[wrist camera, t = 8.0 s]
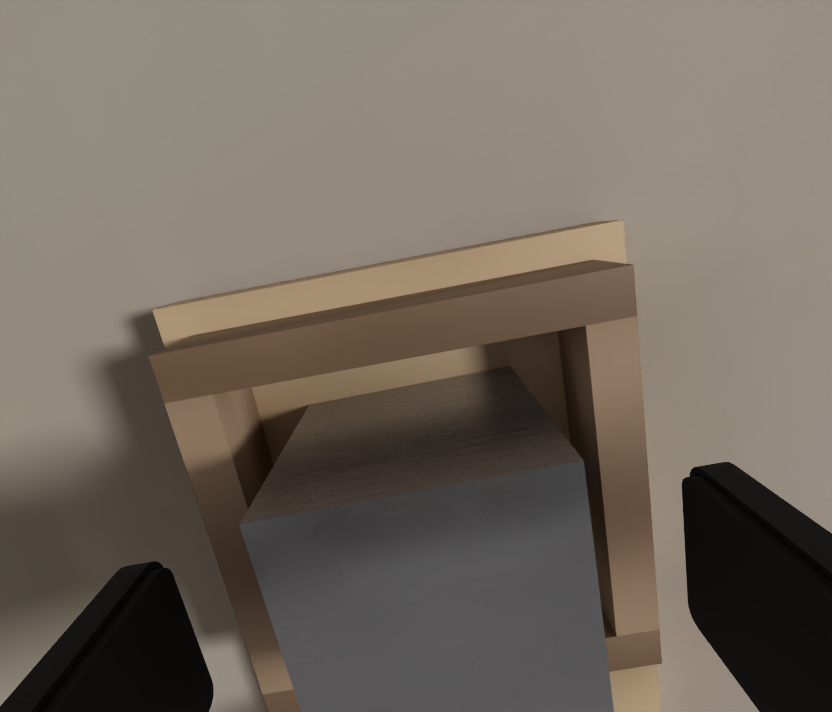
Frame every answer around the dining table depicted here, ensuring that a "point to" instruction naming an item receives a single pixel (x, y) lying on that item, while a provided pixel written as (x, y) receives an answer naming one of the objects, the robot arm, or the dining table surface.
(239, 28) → the dining table surface
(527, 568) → the grey stone cube
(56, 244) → the dining table surface
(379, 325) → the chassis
